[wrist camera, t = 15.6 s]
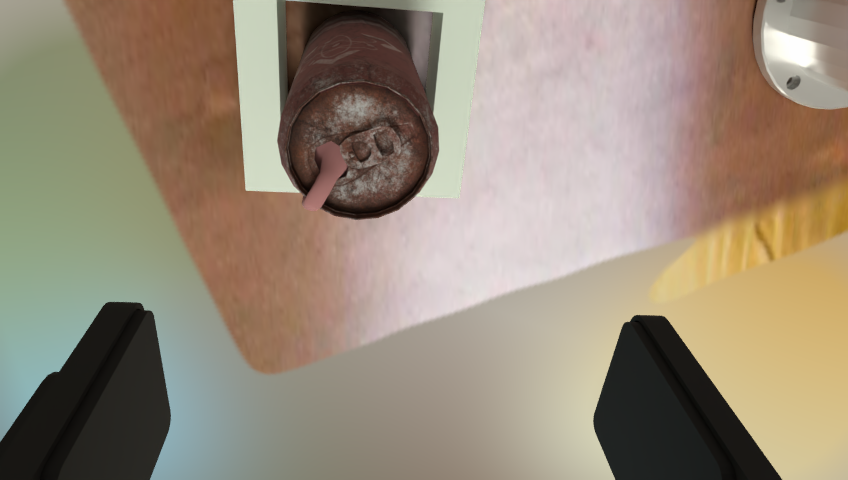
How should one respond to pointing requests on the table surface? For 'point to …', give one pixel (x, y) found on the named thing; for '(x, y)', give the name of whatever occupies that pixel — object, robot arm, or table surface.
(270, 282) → the table surface
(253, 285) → the table surface
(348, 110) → the can
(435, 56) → the pale green square frame
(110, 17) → the table surface
